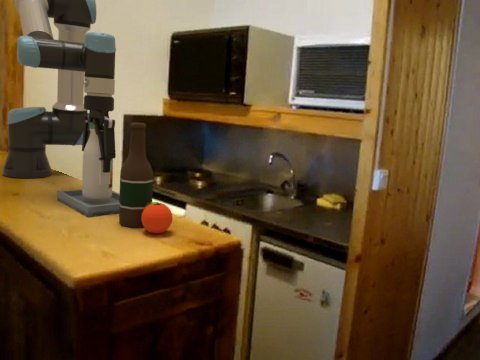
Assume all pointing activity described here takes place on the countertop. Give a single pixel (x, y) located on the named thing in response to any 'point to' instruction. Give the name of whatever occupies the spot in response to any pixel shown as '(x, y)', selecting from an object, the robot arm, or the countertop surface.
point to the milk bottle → (94, 169)
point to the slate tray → (89, 203)
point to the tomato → (156, 217)
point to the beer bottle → (135, 180)
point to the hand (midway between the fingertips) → (97, 181)
